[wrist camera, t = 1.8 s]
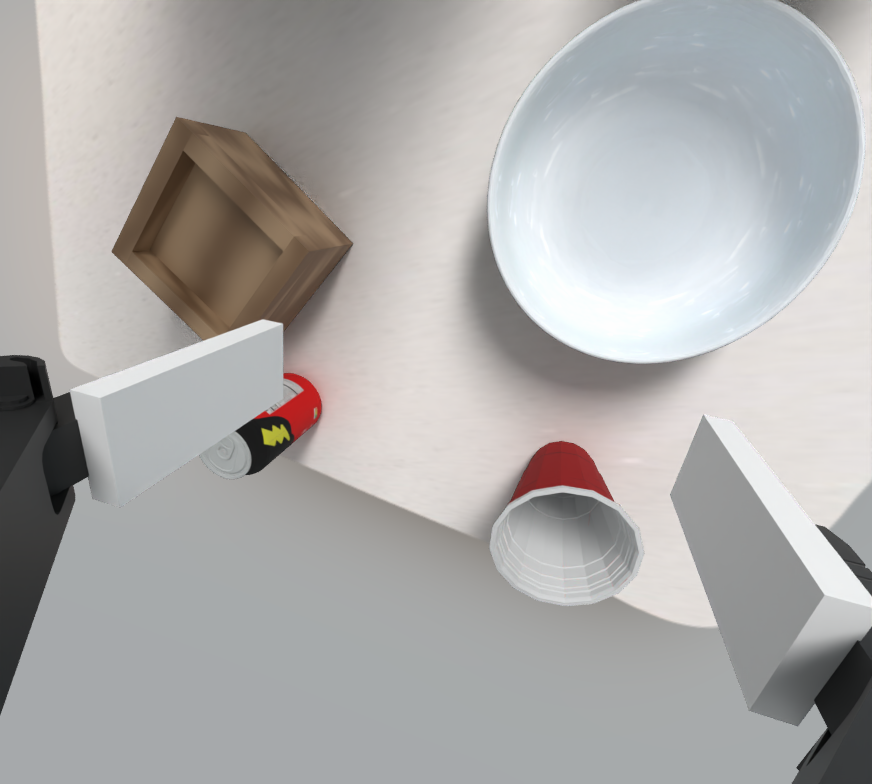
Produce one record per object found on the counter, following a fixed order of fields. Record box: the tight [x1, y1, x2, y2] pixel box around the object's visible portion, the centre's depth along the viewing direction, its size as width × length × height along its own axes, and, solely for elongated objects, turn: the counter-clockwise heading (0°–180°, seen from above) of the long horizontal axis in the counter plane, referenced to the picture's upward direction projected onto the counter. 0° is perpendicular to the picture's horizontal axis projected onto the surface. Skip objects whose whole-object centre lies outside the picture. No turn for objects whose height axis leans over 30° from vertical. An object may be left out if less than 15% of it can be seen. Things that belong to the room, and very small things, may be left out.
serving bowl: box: [487, 0, 866, 364], centre depth 31 cm, size 21×21×7 cm
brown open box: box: [112, 117, 353, 341], centre depth 39 cm, size 13×13×8 cm
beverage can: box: [199, 373, 321, 479], centre depth 43 cm, size 6×6×12 cm
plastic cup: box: [489, 441, 644, 606], centre depth 38 cm, size 11×11×12 cm
